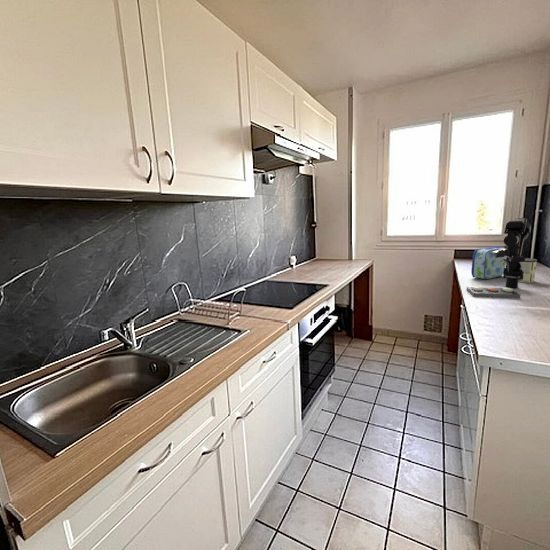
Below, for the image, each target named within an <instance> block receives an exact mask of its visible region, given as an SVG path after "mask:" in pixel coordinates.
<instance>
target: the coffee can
mask: <svg viewBox="0 0 550 550" xmlns="http://www.w3.org/2000/svg"><path fill="white" fill-rule="evenodd" d="M525 258H526V259H525V262H519V263H520V264H521V268H522V270H523V272H524V276H523V280H519V281H518V283H534V282H535V277H536V271H537V269H536V268H537V263H538V259H536V258H530V257H525Z"/></svg>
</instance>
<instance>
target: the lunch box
mask: <svg viewBox="0 0 550 550" xmlns="http://www.w3.org/2000/svg"><path fill="white" fill-rule="evenodd" d="M500 249H504V247H503V248H502V247H500V246H496V245H495V246H492V247H486V248H485V247H483V248H477V249H475V250H474V251H473V255H472V259H471V260H472V261H471V277H473V278H477V279H482V280H490V279H491V280H492V279H495V278H498V277H503V272H504V268H506V262H505V261H504V260H503V259H504V257H502V258H500V257H499V258H496V257H494V254H493V251H496V250H500Z"/></svg>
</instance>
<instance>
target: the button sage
mask: <svg viewBox="0 0 550 550" xmlns="http://www.w3.org/2000/svg"><path fill="white" fill-rule="evenodd" d="M502 288H503V289H502V291H503V292H513V291H514V289H511V288H507V287H502Z"/></svg>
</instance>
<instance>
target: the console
mask: <svg viewBox="0 0 550 550" xmlns="http://www.w3.org/2000/svg"><path fill="white" fill-rule="evenodd" d="M473 287H474V286H466V292H468V293H469V294H470V295H471V297H473V298H492V299H494V298H496V299H515V300H516V299H518V300H520V299H521V297H522V296H521V294H520V293H518V292H517V291H515V290H513V292H503V291H502V289H503V288H504V287H496V288H497V292H488V290H487V288H488V287H483V286H481V287H482V291H473Z"/></svg>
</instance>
